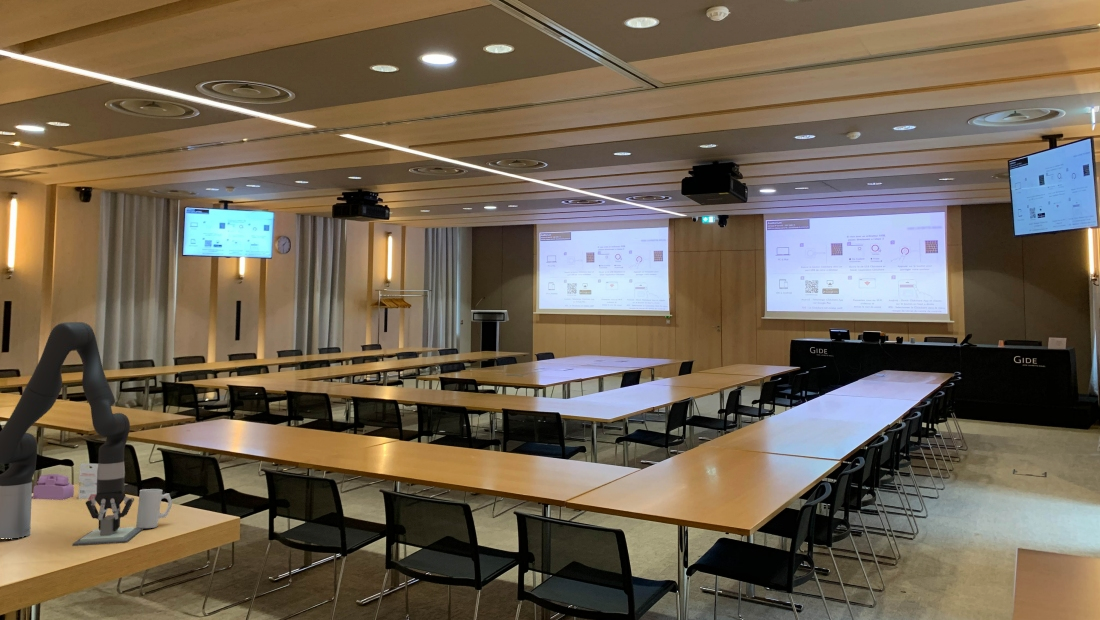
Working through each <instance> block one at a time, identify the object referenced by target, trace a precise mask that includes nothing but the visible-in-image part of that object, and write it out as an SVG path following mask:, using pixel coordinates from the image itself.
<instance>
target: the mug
mask: <svg viewBox="0 0 1100 620" xmlns="http://www.w3.org/2000/svg"><path fill="white" fill-rule="evenodd" d="M170 494H171V493H164V494H163V489H160V488H150V489H149V488H148V489H146V488H145V489H140V490H139V496H138V505H137V514H136V526H135V527H136V528H143V529H151V528H152V529H153V528H157V527H158V524H159V520H160V519H163V518H166V517H167V516H168V515H169V512H170V510H171V509H172V506H173V502H172V498H171V495H170ZM162 499H166V500H167V502H168V503H167V505H168V506H167V508H166V510H165V511H164V512H163V513H162V512H161V513H160V509H161V503H162Z"/></svg>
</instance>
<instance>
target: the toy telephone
mask: <svg viewBox="0 0 1100 620" xmlns="http://www.w3.org/2000/svg"><path fill="white" fill-rule="evenodd" d="M36 483H37V484H36V485H34V486H33V488H32V499H33V500H34V499H35V500H52V499H53V500H56V501H63V499H64V500H66V499H69V498H70V497H71V498H73V497H74V494H75V490H74V489H75V487H74V484H71V483H70V482H69V476H66V475H63V474H59V473H58V474H57V473H53V474H52V473H51V474H43V475H42V474H41V475H40V476H39V479H38V481H36Z"/></svg>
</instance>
